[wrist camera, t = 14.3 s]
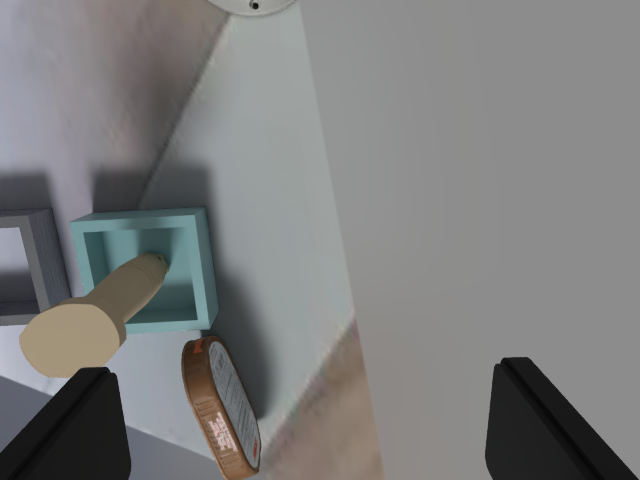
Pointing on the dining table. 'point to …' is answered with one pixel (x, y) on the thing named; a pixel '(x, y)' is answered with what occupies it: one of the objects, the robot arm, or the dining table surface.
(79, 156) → the dining table surface
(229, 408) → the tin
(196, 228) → the tray
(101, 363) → the handle
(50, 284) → the collar
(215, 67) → the dining table surface
